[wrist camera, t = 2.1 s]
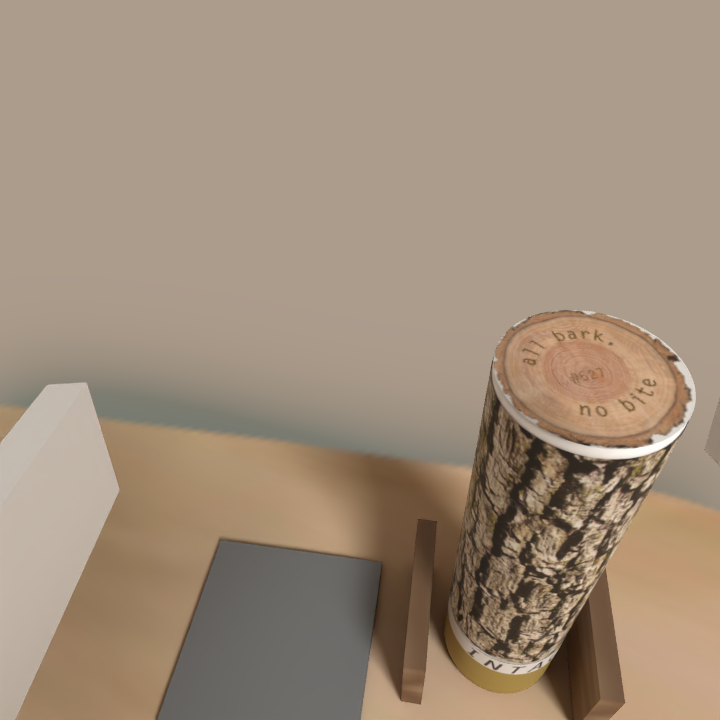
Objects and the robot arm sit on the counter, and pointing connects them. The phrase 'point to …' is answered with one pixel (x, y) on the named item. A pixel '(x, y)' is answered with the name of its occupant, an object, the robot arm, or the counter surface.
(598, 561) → the paper tube
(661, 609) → the counter surface
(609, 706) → the board
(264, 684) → the mat
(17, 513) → the robot arm
